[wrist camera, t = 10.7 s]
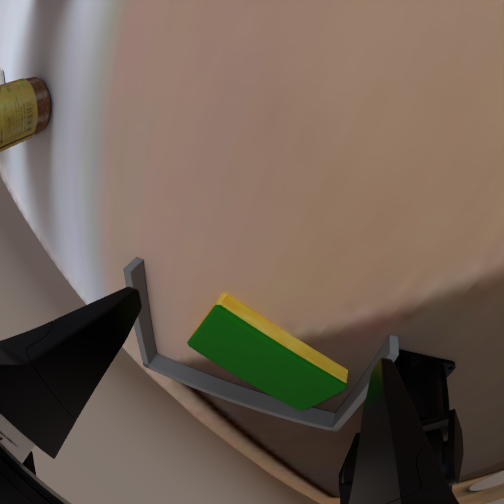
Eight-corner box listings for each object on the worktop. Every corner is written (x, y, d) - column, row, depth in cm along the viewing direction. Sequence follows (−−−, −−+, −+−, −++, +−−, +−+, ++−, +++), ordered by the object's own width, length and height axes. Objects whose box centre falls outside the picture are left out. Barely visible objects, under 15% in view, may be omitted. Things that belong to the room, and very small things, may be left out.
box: (398, 336, 22) (398, 355, 20) (339, 417, 30) (336, 432, 29) (136, 257, 27) (123, 269, 25) (152, 354, 35) (143, 365, 33)
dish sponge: (305, 394, 30) (300, 413, 28) (196, 328, 30) (185, 344, 28) (351, 368, 26) (348, 388, 24) (226, 287, 26) (214, 305, 24)
